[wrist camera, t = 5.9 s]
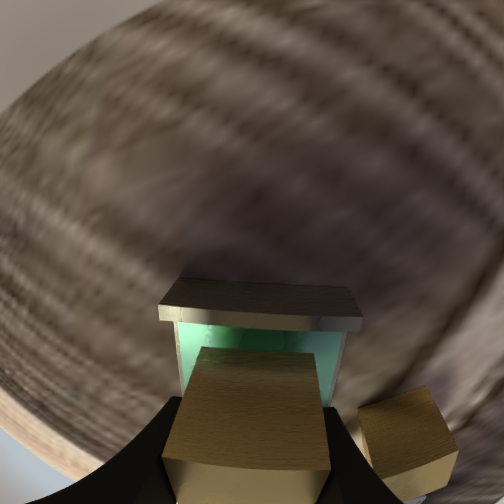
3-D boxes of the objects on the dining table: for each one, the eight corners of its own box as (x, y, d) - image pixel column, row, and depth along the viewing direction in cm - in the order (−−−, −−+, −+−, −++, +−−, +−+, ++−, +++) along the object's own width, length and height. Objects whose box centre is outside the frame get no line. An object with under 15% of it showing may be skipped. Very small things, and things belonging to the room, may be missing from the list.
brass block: (299, 424, 12) (304, 524, 7) (206, 418, 12) (182, 515, 7) (314, 353, 10) (330, 469, 6) (201, 345, 11) (161, 456, 6)
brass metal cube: (422, 426, 15) (446, 485, 10) (363, 446, 15) (376, 510, 11) (425, 384, 14) (459, 450, 9) (357, 407, 14) (375, 481, 10)
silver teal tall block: (294, 500, 18) (294, 525, 15) (204, 494, 18) (199, 519, 16) (348, 287, 12) (363, 317, 10) (178, 277, 13) (158, 305, 10)
